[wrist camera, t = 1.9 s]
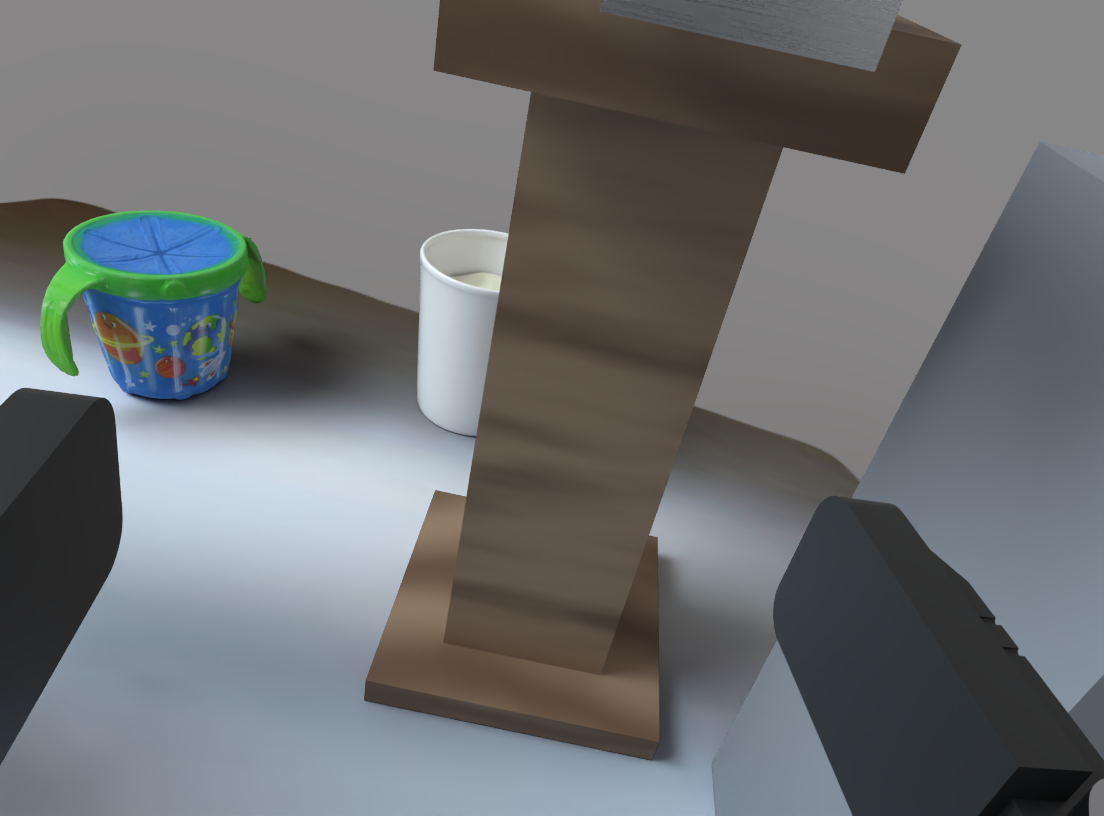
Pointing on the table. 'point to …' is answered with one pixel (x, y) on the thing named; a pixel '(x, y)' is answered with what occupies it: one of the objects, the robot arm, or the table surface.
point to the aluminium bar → (779, 24)
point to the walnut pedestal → (608, 344)
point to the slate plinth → (985, 477)
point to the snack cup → (154, 298)
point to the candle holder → (457, 324)
